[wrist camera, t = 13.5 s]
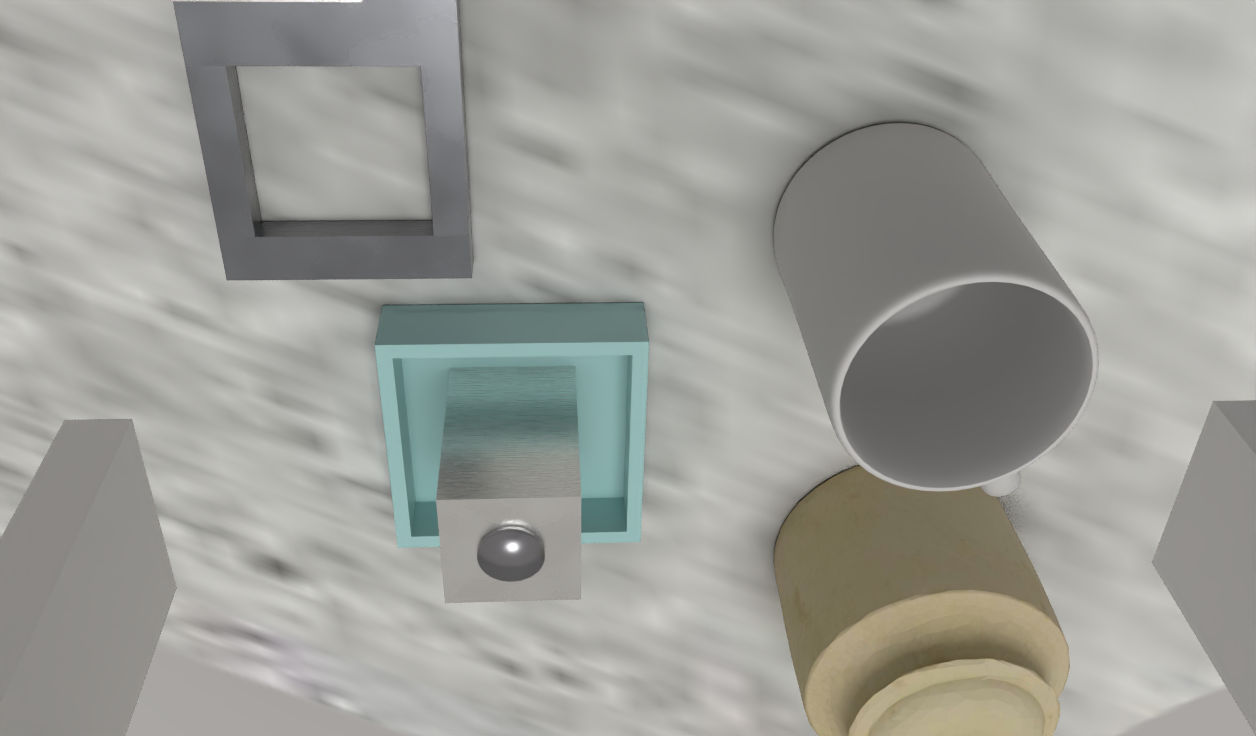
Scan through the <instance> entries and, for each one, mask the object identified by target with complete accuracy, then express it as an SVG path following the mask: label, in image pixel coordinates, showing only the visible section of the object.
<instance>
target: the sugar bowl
mask: <svg viewBox="0 0 1256 736" xmlns="http://www.w3.org/2000/svg"><path fill="white" fill-rule="evenodd" d="M774 568H775V575H776V581H777V586H778V591H779V596H780V601H781V606H782V611H783V617H784V623H785V628H786V633H787V638H788V642H789V647H790V652H791V657H792V661H793V665H794V669H795V673H796V677H797V681H798V685H799V689H800V693H801V697H802V701H803V705H804V709H805V712H806V715H807V717H808V720H809V723H810V725H811V726H812V728H813V729H814V730H815V732H816V733H817V735H818V736H1053V734H1054V732H1055V729H1056V726H1057V723H1058V720H1059V717H1060V703H1059V701H1058V698H1059V696H1060V694H1061V692H1062V690H1063V689H1064V686H1065V683H1066V681H1067V677H1068V673H1069V668H1070V663H1069V648H1068V645H1067V642H1066V640H1065V637H1064V634H1063V632H1062V630H1061V627H1060V625H1059V622H1058V620H1057V618H1056V615H1055V613H1054V611H1053V608H1052V606H1051V604H1050V602H1049V599H1048V597H1047V595H1046V593H1045V590H1044V588H1043V586H1042V584H1041V581H1040V579H1039V577H1038V575H1037V573H1036V571H1035V569H1034V567H1033V565H1032V563H1031V561H1030V559H1029V557H1028V555H1027V553H1026V551H1025V549H1024V547H1023V545H1022V543H1021V542H1020V540H1019V538H1018V536H1017V534H1016V532H1015V530H1014V528H1013V526H1012V524H1011V523H1010V521H1009V519H1008V517H1007V515H1006V513H1005V511H1004V509H1003V507H1002V505H1001V503H1000V501H999V500H998V498H997V497H996V496H990V495H988V494H987V493H985V492H984V491H983V489H982V488H981V487H980V486H978V487H974V488H970V489H963V490H956V491H921V490H915V489H909V488H905V487H901V486H898V485H894V484H891V483H889V482H887V481H884V480H882V479H880V478H878V477H876V476H874V475H873V474H871V473H869V472H868V471H866V470H865V469H864V468H863V467H861V466H860V465H859V466H856V467H853V468H851V469H849V470H846V471H844V472H842V473H840V474H837V475H836V476H834V477H832V478H830V479H829V480H827V481H826V482H824V483H823V484H821V485H820V486H818V487H817V488H815V489H814V490H813V491H811V492H810V493H809V494H808V495H807V496H806V497H805V498H803V499H802V500H801V501H800V502H799V503H798V504H797V506H796V507H795V508H794V509H793V510H792V512H791V513H790V514H789V516H788V517H787V519H786V521H785V522H784V524H783V526H782V528H781V530H780V533H779V536H778V539H777V542H776V546H775V552H774Z"/></svg>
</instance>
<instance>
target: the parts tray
mask: <svg viewBox="0 0 1256 736" xmlns="http://www.w3.org/2000/svg"><path fill="white" fill-rule="evenodd" d="M375 352H376V361H377V370H378V378H379V387H380V396H381V405H382V413H383V422H384V431H385V439H386V448H387V457H388V465H389V474H390V483H391V492H392V500H393V509H394V518H395V526H396V535H397V544H398V548H405V547H440V539H439V528H438V517H437V505H436V496H437V486H438V477H439V468H440V458H441V449H442V439H443V430H444V421H445V411H446V402H447V393H448V383H449V374H450V368H462V367H530V366H575V368H576V390H577V412H578V435H579V457H580V479H581V543H616V542H640V540H641V517H642V493H643V470H644V447H645V424H646V400H647V377H648V354H649V338H648V331H647V323H646V316H645V309H644V303H567V304H472V305H383V307H382V312H381V317H380V322H379V327H378V331H377V336H376V341H375Z"/></svg>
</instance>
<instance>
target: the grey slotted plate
mask: <svg viewBox="0 0 1256 736" xmlns="http://www.w3.org/2000/svg"><path fill="white" fill-rule="evenodd" d="M173 4H174V9H175V14H176V19H177V24H178V30H179V35H180V40H181V45H182V50H183V56H184V61H185V66H186V71H187V76H188V82H189V87H190V92H191V97H192V102H193V107H194V113H195V118H196V123H197V128H198V133H199V139H200V144H201V149H202V154H203V159H204V165H205V170H206V175H207V180H208V185H209V190H210V196H211V201H212V206H213V211H214V216H215V222H216V227H217V232H218V237H219V242H220V248H221V253H222V258H223V263H224V268H225V273H226V279H227V280H317V279H428V278H472V272H473V246H472V228H471V210H470V192H469V174H468V156H467V138H466V120H465V102H464V84H463V66H462V48H461V30H460V12H459V0H363V1H362V2H214V1H173ZM235 66H421V76H422V89H423V102H424V115H425V128H426V141H427V154H428V168H429V181H430V194H431V207H432V220H421V221H261V215H260V209H259V203H258V197H257V192H256V186H255V180H254V174H253V168H252V162H251V156H250V150H249V144H248V138H247V132H246V126H245V120H244V114H243V108H242V102H241V96H240V90H239V84H238V78H237V72H236V67H235Z"/></svg>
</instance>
